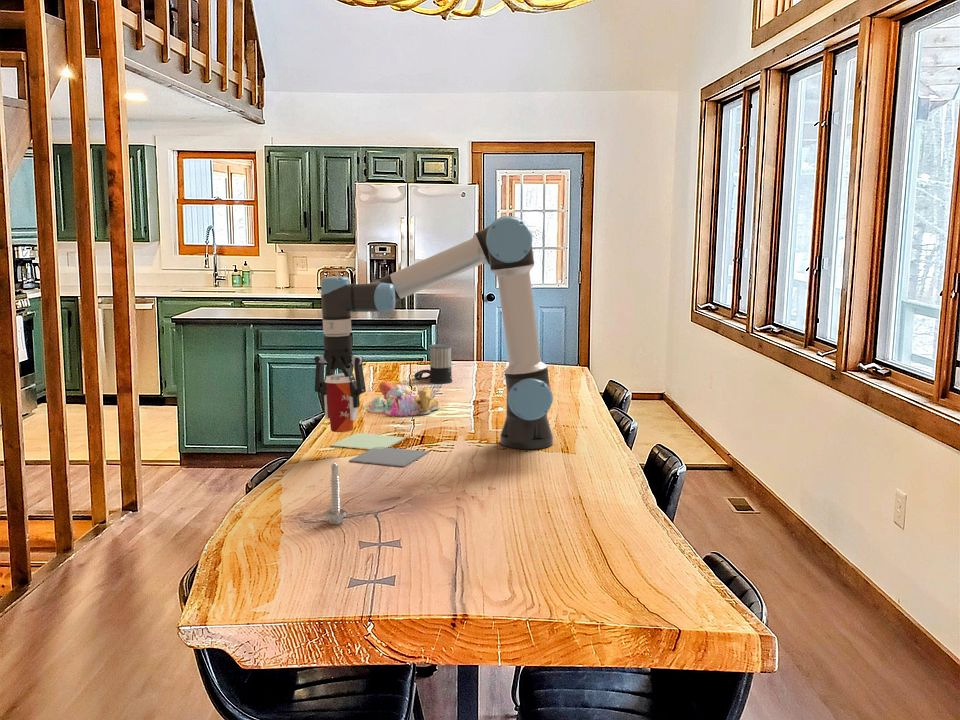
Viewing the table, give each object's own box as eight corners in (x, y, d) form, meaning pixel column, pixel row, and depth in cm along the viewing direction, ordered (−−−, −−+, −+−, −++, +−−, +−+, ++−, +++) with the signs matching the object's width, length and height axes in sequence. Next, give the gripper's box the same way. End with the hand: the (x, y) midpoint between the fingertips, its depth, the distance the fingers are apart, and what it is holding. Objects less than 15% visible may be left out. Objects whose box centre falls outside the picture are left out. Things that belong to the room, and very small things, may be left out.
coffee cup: (351, 433, 240) (348, 378, 238) (322, 432, 242) (319, 377, 240) (361, 426, 248) (359, 373, 246) (333, 426, 250) (330, 372, 248)
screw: (319, 523, 189) (336, 517, 193) (334, 528, 186) (352, 522, 190) (318, 463, 187) (335, 458, 191) (333, 467, 184) (351, 462, 188)
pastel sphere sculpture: (443, 404, 317) (443, 378, 316) (434, 418, 294) (434, 390, 293) (374, 403, 319) (373, 377, 318) (359, 416, 296) (358, 389, 295)
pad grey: (428, 452, 248) (428, 451, 248) (404, 467, 233) (404, 465, 233) (376, 447, 253) (376, 446, 253) (349, 461, 238) (349, 460, 238)
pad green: (405, 438, 264) (405, 437, 264) (381, 451, 250) (381, 449, 249) (356, 434, 270) (356, 433, 270) (330, 446, 255) (330, 445, 255)
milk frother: (451, 384, 356) (451, 346, 354) (411, 383, 356) (411, 346, 354) (453, 378, 370) (453, 342, 368) (415, 377, 370) (414, 342, 368)
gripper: (297, 335, 241) (302, 419, 244) (364, 337, 234) (367, 423, 238) (312, 332, 248) (316, 413, 251) (377, 333, 241) (380, 417, 245)
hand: (341, 418), depth 245 cm, fingers closed on coffee cup, 7 cm apart
